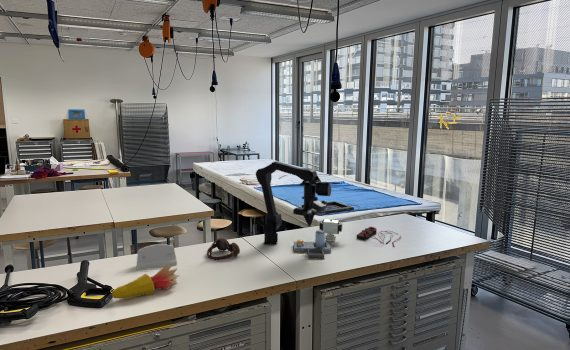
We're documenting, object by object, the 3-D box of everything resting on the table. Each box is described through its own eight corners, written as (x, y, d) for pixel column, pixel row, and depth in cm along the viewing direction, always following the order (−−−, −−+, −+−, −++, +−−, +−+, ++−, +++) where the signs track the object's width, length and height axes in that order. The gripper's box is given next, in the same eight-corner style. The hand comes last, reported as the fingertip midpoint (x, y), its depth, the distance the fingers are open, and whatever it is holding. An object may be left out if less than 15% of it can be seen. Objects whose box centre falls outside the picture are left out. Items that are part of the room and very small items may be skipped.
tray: (308, 258, 178) (308, 254, 177) (307, 252, 185) (307, 249, 185) (324, 258, 178) (324, 254, 177) (322, 253, 185) (322, 249, 185)
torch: (114, 311, 134) (180, 283, 150) (119, 309, 128) (187, 280, 144) (107, 288, 136) (172, 263, 151) (111, 285, 130) (179, 260, 145)
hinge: (136, 270, 160) (135, 246, 162) (136, 270, 165) (135, 246, 166) (177, 265, 167) (176, 242, 168) (176, 265, 171) (175, 242, 173)
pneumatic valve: (340, 243, 200) (341, 221, 198) (318, 241, 203) (319, 219, 201) (342, 239, 205) (342, 218, 203) (320, 237, 208) (321, 216, 206)
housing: (294, 252, 186) (294, 248, 185) (293, 245, 195) (293, 241, 195) (331, 252, 186) (331, 248, 185) (328, 245, 196) (328, 242, 195)
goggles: (243, 255, 179) (239, 236, 176) (221, 269, 170) (217, 249, 167) (223, 247, 189) (219, 229, 186) (201, 260, 181) (197, 241, 178)
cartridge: (315, 250, 188) (316, 233, 187) (314, 247, 193) (315, 230, 192) (325, 250, 188) (325, 233, 187) (324, 247, 193) (324, 230, 192)
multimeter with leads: (351, 232, 205) (367, 222, 226) (351, 240, 206) (367, 229, 227) (394, 240, 193) (407, 228, 214) (393, 249, 194) (407, 236, 215)
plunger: (296, 248, 189) (297, 241, 188) (296, 246, 192) (296, 239, 191) (303, 248, 189) (303, 241, 188) (302, 246, 192) (303, 239, 191)
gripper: (310, 199, 174) (310, 233, 176) (334, 194, 188) (333, 224, 190) (292, 196, 181) (292, 228, 184) (316, 191, 195) (315, 221, 197)
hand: (309, 225), depth 188 cm, fingers closed
